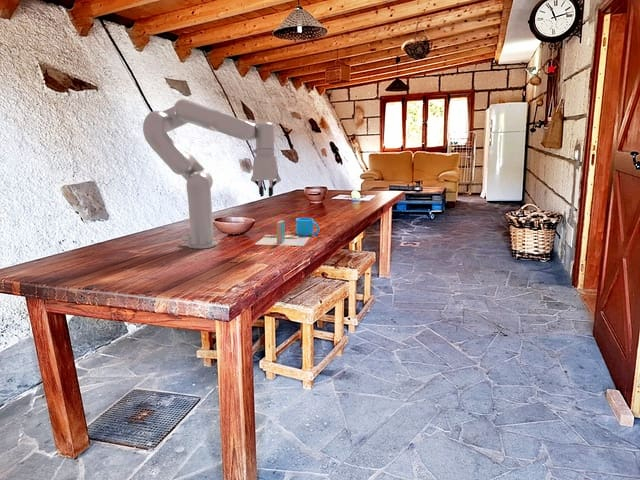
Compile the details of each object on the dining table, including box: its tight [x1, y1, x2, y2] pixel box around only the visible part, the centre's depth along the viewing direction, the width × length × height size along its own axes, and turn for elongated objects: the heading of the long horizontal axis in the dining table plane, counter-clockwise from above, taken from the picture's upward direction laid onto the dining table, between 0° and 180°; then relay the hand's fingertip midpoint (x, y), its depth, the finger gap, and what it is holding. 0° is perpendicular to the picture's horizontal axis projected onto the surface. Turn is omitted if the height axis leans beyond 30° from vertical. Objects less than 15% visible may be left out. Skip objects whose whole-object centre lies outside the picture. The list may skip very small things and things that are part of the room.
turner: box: [263, 234, 300, 239], centre depth 214 cm, size 16×5×1 cm, turn 82°
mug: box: [295, 217, 321, 236], centre depth 221 cm, size 12×8×8 cm
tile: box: [276, 219, 286, 244], centre depth 203 cm, size 2×7×9 cm, turn 172°
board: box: [255, 236, 311, 247], centre depth 207 cm, size 21×18×1 cm
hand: (266, 195), depth 201 cm, fingers open, 3 cm apart
